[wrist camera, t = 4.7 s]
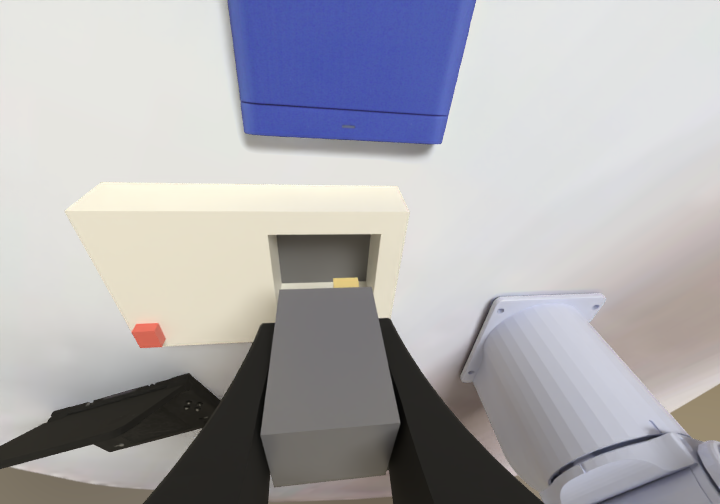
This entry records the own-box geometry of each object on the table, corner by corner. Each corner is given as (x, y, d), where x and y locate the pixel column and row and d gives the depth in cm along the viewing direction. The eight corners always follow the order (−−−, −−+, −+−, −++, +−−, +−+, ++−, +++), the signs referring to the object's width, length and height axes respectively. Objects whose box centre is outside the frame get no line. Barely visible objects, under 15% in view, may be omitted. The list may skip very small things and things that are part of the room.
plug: (362, 325, 15) (385, 475, 10) (287, 329, 14) (274, 487, 9) (368, 269, 13) (400, 423, 8) (281, 271, 12) (260, 435, 7)
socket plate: (380, 303, 20) (388, 342, 18) (159, 311, 18) (135, 355, 16) (397, 186, 15) (412, 218, 13) (101, 182, 14) (55, 217, 11)
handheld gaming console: (128, 470, 26) (-25, 601, 16) (90, 393, 27) (-83, 476, 17) (246, 408, 26) (160, 505, 16) (205, 330, 26) (96, 376, 16)
